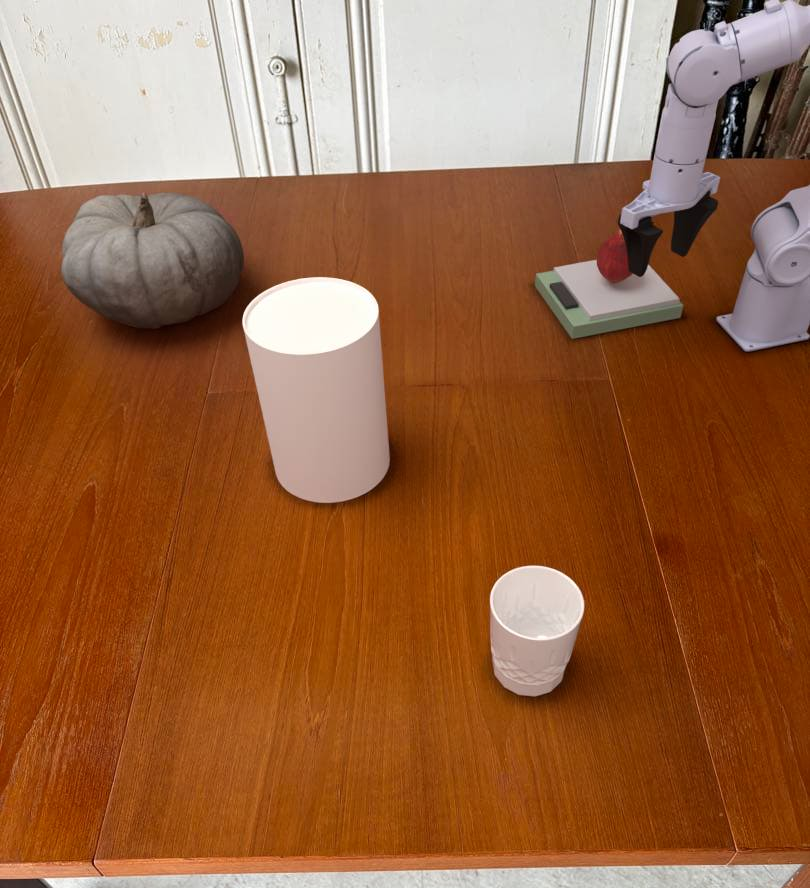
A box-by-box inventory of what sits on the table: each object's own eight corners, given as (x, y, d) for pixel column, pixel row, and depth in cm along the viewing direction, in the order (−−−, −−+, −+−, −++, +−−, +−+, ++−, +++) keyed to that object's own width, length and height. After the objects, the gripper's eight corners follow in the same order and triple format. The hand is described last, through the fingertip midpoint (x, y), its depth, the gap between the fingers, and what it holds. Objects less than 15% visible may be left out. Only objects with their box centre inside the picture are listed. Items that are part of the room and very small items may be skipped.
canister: (301, 518, 90) (271, 370, 75) (258, 447, 98) (223, 301, 83) (409, 476, 94) (402, 327, 79) (359, 410, 102) (344, 264, 87)
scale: (635, 267, 121) (638, 249, 119) (680, 317, 112) (684, 300, 110) (534, 286, 119) (536, 268, 117) (572, 339, 110) (574, 321, 108)
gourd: (121, 366, 105) (79, 229, 95) (51, 317, 121) (8, 195, 111) (282, 309, 117) (261, 182, 107) (199, 271, 133) (173, 157, 123)
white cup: (480, 635, 79) (483, 569, 71) (561, 627, 79) (572, 561, 71) (493, 706, 73) (498, 644, 66) (579, 698, 74) (594, 635, 66)
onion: (634, 295, 111) (645, 240, 105) (592, 292, 112) (600, 237, 106) (635, 272, 115) (646, 218, 109) (594, 270, 116) (602, 216, 110)
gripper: (697, 126, 98) (673, 232, 108) (609, 160, 93) (593, 269, 103) (744, 145, 94) (715, 254, 104) (655, 182, 89) (634, 292, 99)
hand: (657, 263), depth 103 cm, fingers open, 7 cm apart
